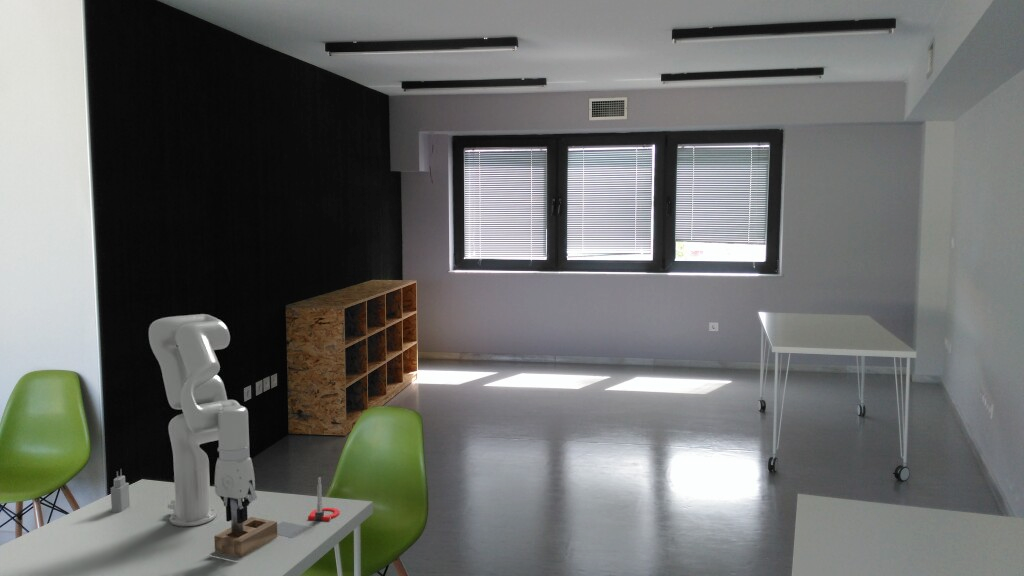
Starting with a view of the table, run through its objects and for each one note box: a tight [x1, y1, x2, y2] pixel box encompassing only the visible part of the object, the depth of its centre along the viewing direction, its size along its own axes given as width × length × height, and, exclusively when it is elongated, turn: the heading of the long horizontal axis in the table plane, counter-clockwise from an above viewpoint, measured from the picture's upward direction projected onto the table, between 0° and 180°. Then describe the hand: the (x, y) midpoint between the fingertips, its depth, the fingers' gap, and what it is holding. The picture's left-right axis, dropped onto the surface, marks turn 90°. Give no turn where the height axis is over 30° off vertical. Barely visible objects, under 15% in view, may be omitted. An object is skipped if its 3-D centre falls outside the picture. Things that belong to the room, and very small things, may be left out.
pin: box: [230, 498, 243, 534], centre depth 207 cm, size 4×4×11 cm
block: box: [214, 516, 278, 558], centre depth 211 cm, size 9×14×4 cm, turn 157°
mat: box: [277, 521, 312, 539], centre depth 221 cm, size 10×8×1 cm
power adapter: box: [110, 468, 131, 513], centre depth 236 cm, size 3×5×12 cm, turn 176°
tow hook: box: [307, 477, 340, 522], centre depth 231 cm, size 8×13×9 cm
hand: (237, 520), depth 207 cm, fingers closed on pin, 3 cm apart
